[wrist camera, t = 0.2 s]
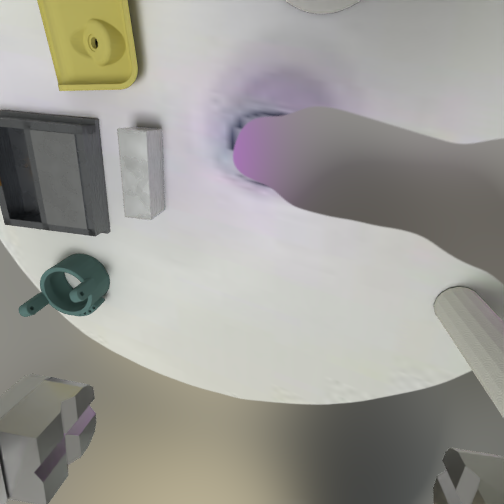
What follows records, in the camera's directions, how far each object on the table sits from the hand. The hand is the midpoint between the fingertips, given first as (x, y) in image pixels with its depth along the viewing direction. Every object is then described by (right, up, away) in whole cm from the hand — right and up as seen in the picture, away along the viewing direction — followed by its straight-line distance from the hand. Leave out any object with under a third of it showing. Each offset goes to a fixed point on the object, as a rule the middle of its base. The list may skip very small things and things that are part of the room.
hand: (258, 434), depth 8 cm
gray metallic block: (-14, +16, +38) cm, 43 cm away
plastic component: (-19, +34, +31) cm, 49 cm away
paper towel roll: (+29, -4, +40) cm, 50 cm away
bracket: (-27, 0, +47) cm, 54 cm away
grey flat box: (-28, +15, +40) cm, 51 cm away
